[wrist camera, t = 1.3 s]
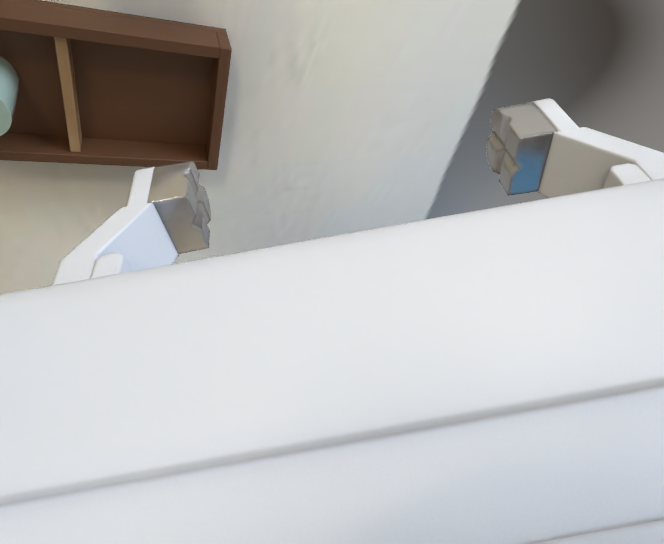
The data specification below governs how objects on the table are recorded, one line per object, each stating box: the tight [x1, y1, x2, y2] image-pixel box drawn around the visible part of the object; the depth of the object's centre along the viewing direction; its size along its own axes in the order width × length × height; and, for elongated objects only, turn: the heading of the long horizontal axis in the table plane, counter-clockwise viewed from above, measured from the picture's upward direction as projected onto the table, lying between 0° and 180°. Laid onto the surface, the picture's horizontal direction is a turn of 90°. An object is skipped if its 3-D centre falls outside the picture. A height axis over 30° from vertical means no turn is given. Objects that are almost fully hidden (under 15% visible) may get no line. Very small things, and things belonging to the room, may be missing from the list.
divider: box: [54, 37, 82, 152], centre depth 39 cm, size 1×10×3 cm, turn 164°
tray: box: [0, 0, 231, 170], centre depth 38 cm, size 24×12×3 cm, turn 74°
